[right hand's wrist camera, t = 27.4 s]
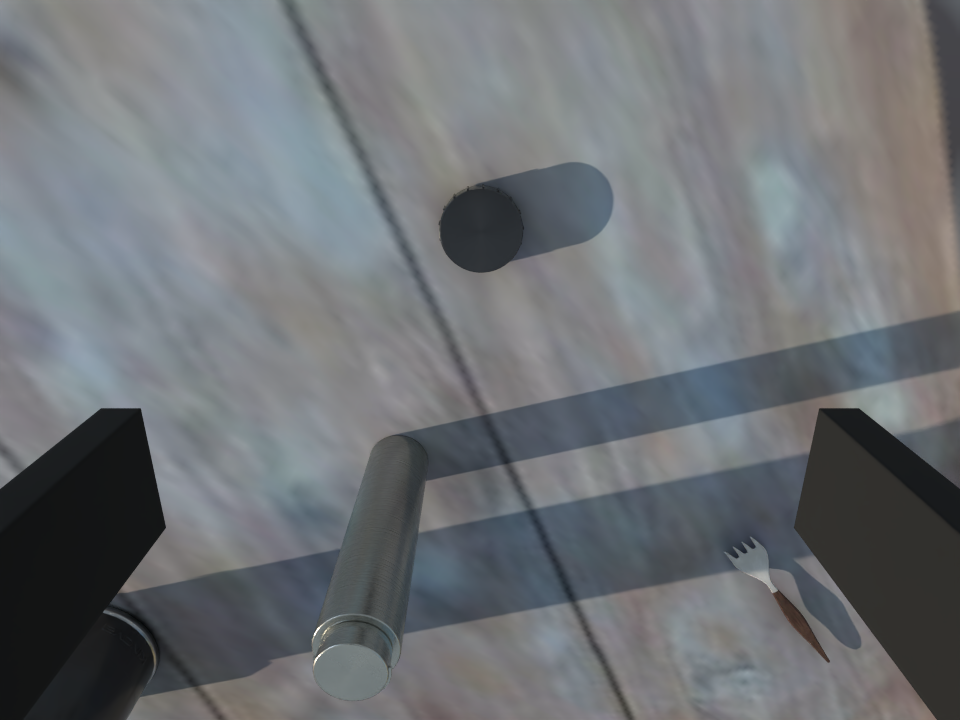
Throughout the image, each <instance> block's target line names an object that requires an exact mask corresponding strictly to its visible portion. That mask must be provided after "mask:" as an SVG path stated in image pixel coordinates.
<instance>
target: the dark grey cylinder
mask: <svg viewBox="0 0 960 720" xmlns="http://www.w3.org/2000/svg"><path fill="white" fill-rule="evenodd" d="M427 468H428V457H427V454H426V452H425V450H424V448H423V447H422V446H421V445H420V444H419V443H418V442H417V441H415V440H413V439H411V438H409V437H406V436H390V437H387V438H384V439H382V440H381V441H379V442H378V443H377V444H376V445H375V446H374V448H373V449H372V451H371V454H370V457H369V460H368V464H367V467H366V470H365V473H364V476H363V480H362V483H361V486H360V489H359V492H358V495H357V499H356V502H355V505H354V508H353V511H352V515H351V518H350V521H349V524H348V527H347V530H346V534H345V537H344V540H343V543H342V546H341V550H340V553H339V556H338V559H337V562H336V565H335V569H334V572H333V575H332V578H331V581H330V585H329V588H328V591H327V594H326V597H325V600H324V604H323V607H322V610H321V613H320V616H319V620H318V623H317V626H316V629H315V632H314V635H313V639H312V651H313V654H314V657H313V660H314V664H313V675H314V678H315V681H316V682H317V684H318V685H319V687H320V688H321V689H322V690H323V691H325V692H326V693H327V694H329V695H331V696H333V697H335V698H338V699H342V700H347V701H359V700H365V699H368V698H371V697H373V696H375V695H376V694H378V693H379V692H380V691H381V690H382V689H385V687H386V686H387V684H388V683H389V682H390V679H391V676H392V669H393V668H394V667H395V666H396V664H397V662H398V660H399V658H400V654H401V648H402V641H403V634H404V627H405V620H406V613H407V606H408V599H409V592H410V585H411V579H412V572H413V565H414V558H415V551H416V544H417V537H418V530H419V523H420V516H421V510H422V503H423V496H424V489H425V482H426V475H427Z"/></svg>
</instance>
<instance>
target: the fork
mask: <svg viewBox="0 0 960 720" xmlns="http://www.w3.org/2000/svg"><path fill="white" fill-rule="evenodd" d="M750 538H751V540H752V541H753V543H754V544H755V546H756V547H755V548H754V549H752V548H750V547H749V546H748V545H746V544H745V543H744V542H742V544H743V545H744V547H745V548H746V550H747V553H742V552H741V551H740V550H738V549H737V548H735V547H733V548H734V550H735V551H736V552H737V554H738V555H739V557H738V558H734V557H733V556H732V555H730V554H728V553H727V552H725V551H724V553H725V554H726V555H727V556H728V558H729V559H730V560H731V562H732V563H733V565H734V566H735V567H736V568H737V569H739V570H740V571H742V572H744V573H746V574H748V575H750V576H753V577H755V578H757V579H759V580H761V581H763V582H764V583H765V584H766V585H767V586H768V587H769V588H770V590H771V592H772V593H773V595H774V597H775V599H776V601H777V602H778V604H779V606H780V608H781V610H782V611H783V613H784V615H785V616H786V618H787V619H788V621H789V622H790V623H791V625H792V626H793V627H794V628H795V629H796V630H797V631H798V632H799V633H800V634H801V635H802V636H803V637H804V638H805V639H806V640H807V641H808V642H809V643H810V644H811V645H812V646H813V647H814V648H815V649H816V651H817V652H818V653H819V654H820V655H821V656H822V657H823V658H824V659H825V660H826V661H827V662H828V663H829V662H830V661H829V659H828V657H827V656H826V654H825V652H824V651H823V649H822V647H821V646H820V644H819V642H818V641H817V639H816V637H815V635H814V634H813V632H812V630H811V628H810V626H809V625H808V623H807V621H806V620H805V618H804V617H803V615H802V614H801V613H800V612H799V610H798V609H797V608H796V607H795V606H794V605H793V604H792V603H791V602H790V601H789V600H788V599H787V598H786V597H785V596H784V595H783V594H782V593H781V592H780V591H779V590H778V589H777V588H776V587H775V586H774V585H773V583H772V582H771V580H770V575H769V560H768V554H767V551H766V549H765V548H764V547H763V546H762V545H761V544H760V543H759V542H757V541H756V540H755V539H754V538H752V537H751V536H750Z"/></svg>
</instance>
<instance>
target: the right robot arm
mask: <svg viewBox="0 0 960 720" xmlns="http://www.w3.org/2000/svg"><path fill="white" fill-rule="evenodd" d="M165 528H166V526H165V521H164V516H163V512H162V507H161V502H160V497H159V493H158V488H157V483H156V478H155V474H154V469H153V464H152V460H151V455H150V450H149V445H148V441H147V436H146V431H145V426H144V422H143V417H142V412H141V408H101V409H100V410H99V411H97V412H96V413H95V414H94V415H92V416H91V417H90V418H89V419H87V420H86V421H85V422H84V423H82V424H81V425H80V426H79V427H77V428H76V429H75V430H74V431H72V432H71V433H70V434H69V435H67V436H66V437H65V438H64V439H62V440H61V441H60V442H59V443H57V444H56V445H55V446H54V447H52V448H51V449H50V450H49V451H47V452H46V453H45V454H44V455H42V456H41V457H40V458H39V459H37V460H36V461H35V462H33V463H32V464H31V465H30V466H28V467H27V468H26V469H25V470H23V471H22V472H21V473H20V474H18V475H17V476H16V477H15V478H13V479H12V480H11V481H10V482H8V483H7V484H6V485H5V486H3V487H2V488H1V489H0V720H23V719H24V718H25V716H26V715H27V714H28V712H29V711H30V710H31V708H32V707H33V706H34V704H35V703H36V702H37V700H38V699H39V698H40V696H41V695H42V694H43V692H44V691H45V690H46V688H47V687H48V685H49V684H50V683H51V681H52V680H53V679H54V677H55V676H56V675H57V673H58V672H59V671H60V669H61V668H62V667H63V665H64V664H65V663H66V661H67V660H68V659H69V657H70V656H71V655H72V653H73V652H74V651H75V649H76V648H77V647H78V645H79V644H80V642H81V641H82V640H83V638H84V637H85V636H86V634H87V633H88V632H89V630H90V629H91V628H92V626H93V625H94V624H95V622H96V621H97V620H98V618H99V617H100V616H101V614H102V613H103V612H104V610H105V609H106V608H107V606H108V605H109V604H110V602H111V601H112V599H113V598H114V597H115V595H116V594H117V593H118V591H119V590H120V589H121V587H122V586H123V585H124V583H125V582H126V581H127V579H128V578H129V577H130V575H131V574H132V573H133V571H134V570H135V569H136V567H137V566H138V565H139V563H140V562H141V561H142V559H143V558H144V556H145V555H146V554H147V552H148V551H149V550H150V548H151V547H152V546H153V544H154V543H155V542H156V540H157V539H158V538H159V536H160V535H161V534H162V532H163V531H164V530H165ZM794 528H795V530H796V531H797V532H798V534H799V535H800V536H801V538H802V539H803V540H804V542H805V543H806V544H807V546H808V547H809V548H810V550H811V551H812V552H813V554H814V555H815V556H816V558H817V559H818V561H819V562H820V563H821V565H822V566H823V567H824V569H825V570H826V571H827V573H828V574H829V575H830V577H831V578H832V579H833V581H834V582H835V583H836V585H837V586H838V587H839V589H840V590H841V591H842V593H843V594H844V595H845V597H846V598H847V599H848V601H849V602H850V604H851V605H852V606H853V608H854V609H855V610H856V612H857V613H858V614H859V616H860V617H861V618H862V620H863V621H864V622H865V624H866V625H867V626H868V628H869V629H870V630H871V632H872V633H873V634H874V636H875V637H876V638H877V640H878V641H879V642H880V644H881V645H882V647H883V648H884V649H885V651H886V652H887V653H888V655H889V656H890V657H891V659H892V660H893V661H894V663H895V664H896V665H897V667H898V668H899V669H900V671H901V672H902V673H903V675H904V676H905V677H906V679H907V680H908V681H909V683H910V684H911V685H912V687H913V688H914V690H915V691H916V692H917V694H918V695H919V696H920V698H921V699H922V700H923V702H924V703H925V704H926V706H927V707H928V708H929V710H930V711H931V712H932V714H933V715H934V716H935V718H936V719H937V720H960V489H959V488H958V487H957V486H955V485H954V484H953V483H952V482H950V481H949V480H948V479H947V478H945V477H944V476H943V475H942V474H940V473H939V472H938V471H937V470H935V469H934V468H933V467H932V466H930V465H929V464H928V463H926V462H925V461H924V460H923V459H921V458H920V457H919V456H918V455H916V454H915V453H914V452H913V451H911V450H910V449H909V448H908V447H906V446H905V445H904V444H903V443H901V442H900V441H899V440H898V439H896V438H895V437H894V436H893V435H891V434H890V433H889V432H888V431H886V430H885V429H884V428H883V427H881V426H880V425H879V424H878V423H876V422H875V421H874V420H873V419H871V418H870V417H869V416H868V415H866V414H865V413H864V412H863V411H861V410H860V409H859V408H819V412H818V417H817V422H816V426H815V431H814V436H813V441H812V445H811V450H810V455H809V460H808V464H807V469H806V474H805V478H804V483H803V488H802V493H801V497H800V502H799V507H798V512H797V516H796V521H795V526H794Z"/></svg>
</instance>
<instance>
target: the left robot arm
mask: <svg viewBox="0 0 960 720" xmlns="http://www.w3.org/2000/svg"><path fill="white" fill-rule="evenodd" d="M158 664H159V650H158V646H157V644H156V641H155V639H154V638H153V636H152V634H151V633H150V632H149V630H148V629H147V628H146V627H145V626H144V625H143V624H142V623H141V622H139V621H138V620H137V619H135V618H134V617H132V616H131V615H129V614H127V613H125V612H123V611H121V610H119V609H116V608H113V607H110V606H107V608H106V609H105V610H104V612H103V613H102V614H101V616H100V617H99V618H98V620H97V621H96V622H95V624H94V625H93V626H92V628H91V629H90V630H89V632H88V633H87V634H86V636H85V637H84V638H83V640H82V641H81V642H80V644H79V645H78V647H77V648H76V649H75V651H74V652H73V653H72V655H71V656H70V657H69V659H68V660H67V661H66V663H65V664H64V665H63V667H62V668H61V669H60V671H59V672H58V673H57V675H56V676H55V677H54V679H53V680H52V681H51V683H50V684H49V685H48V687H47V688H46V690H45V691H44V692H43V694H42V695H41V696H40V698H39V699H38V700H37V702H36V703H35V704H34V706H33V707H32V708H31V710H30V711H29V712H28V714H27V715H26V716H25V718H24V719H23V720H127V718H128V716H129V714H130V713H131V711H132V709H133V708H134V706H135V704H136V702H137V701H138V699H139V697H140V695H141V693H142V692H143V690H144V688H145V686H146V685H147V684H148V683H149V682H150V680H151V679H152V677H153V675H154V674H155V672H156V670H157V667H158Z"/></svg>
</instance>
